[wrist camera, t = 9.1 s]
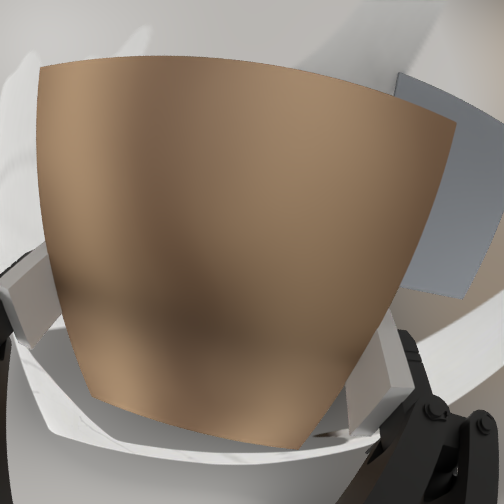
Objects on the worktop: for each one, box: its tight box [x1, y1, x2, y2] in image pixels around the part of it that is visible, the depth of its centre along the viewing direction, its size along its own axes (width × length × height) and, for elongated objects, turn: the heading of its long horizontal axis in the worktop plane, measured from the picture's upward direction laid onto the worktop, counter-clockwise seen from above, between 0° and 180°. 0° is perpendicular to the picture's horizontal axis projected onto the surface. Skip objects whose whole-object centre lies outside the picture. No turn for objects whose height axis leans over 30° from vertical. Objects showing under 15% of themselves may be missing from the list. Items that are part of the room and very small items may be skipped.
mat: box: [394, 72, 504, 299], centre depth 24 cm, size 16×20×1 cm
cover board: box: [36, 56, 457, 450], centre depth 11 cm, size 11×15×4 cm
